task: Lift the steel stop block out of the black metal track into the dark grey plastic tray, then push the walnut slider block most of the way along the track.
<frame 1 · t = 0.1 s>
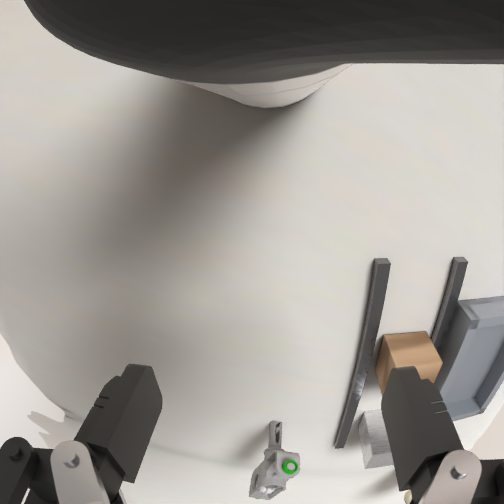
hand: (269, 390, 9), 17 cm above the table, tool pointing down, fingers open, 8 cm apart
tray: (469, 357, 30), on the table
slider: (406, 368, 28), point 3 cm above the table, slide at 0.0 cm
mechanical component: (275, 422, 37), on the table
stop block: (375, 418, 35), on the table
slide rails: (391, 374, 31), on the table
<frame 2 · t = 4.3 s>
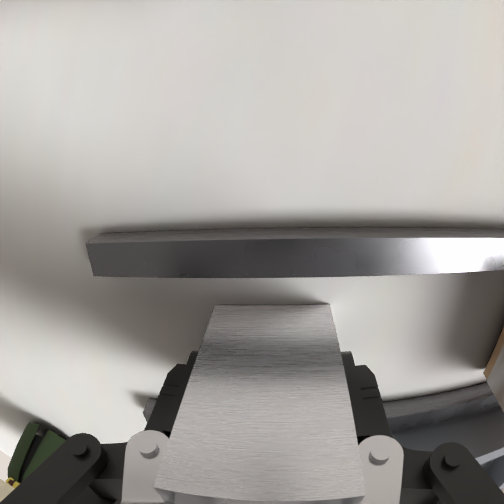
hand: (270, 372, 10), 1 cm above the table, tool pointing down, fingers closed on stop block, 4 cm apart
character mug: (61, 441, 18), on the table
tray: (423, 459, 15), on the table
stop block: (272, 349, 11), on the table, touching gripper
slide rails: (476, 334, 11), on the table
when the fingers open (4 cm above the table, at t = 10.7 s): stop block drops 1 cm, resting on tray.
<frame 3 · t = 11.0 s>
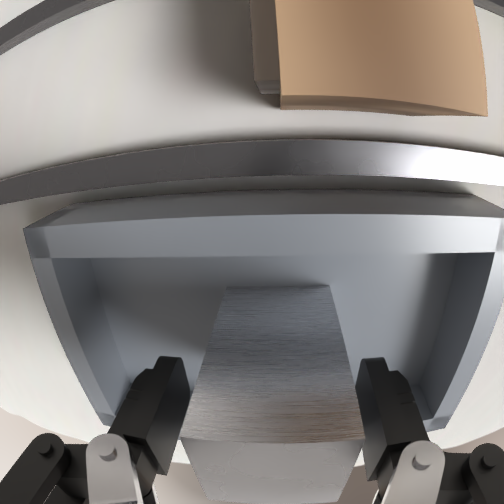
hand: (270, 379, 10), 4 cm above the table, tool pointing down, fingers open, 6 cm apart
tray: (273, 314, 14), on the table
slider: (352, 27, 7), point 3 cm above the table, slide at 0.0 cm
stop block: (278, 327, 13), point 1 cm above the table, touching tray
slide rails: (235, 49, 10), on the table
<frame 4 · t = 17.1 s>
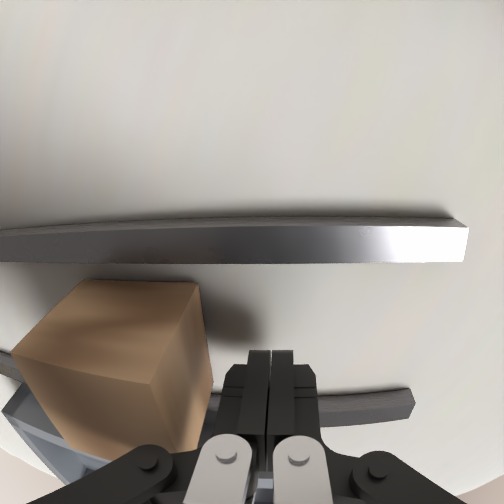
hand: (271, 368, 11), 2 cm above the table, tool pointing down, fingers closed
tray: (161, 456, 17), on the table
slider: (118, 373, 10), point 3 cm above the table, slide at 0.8 cm, touching gripper
slide rails: (89, 325, 13), on the table
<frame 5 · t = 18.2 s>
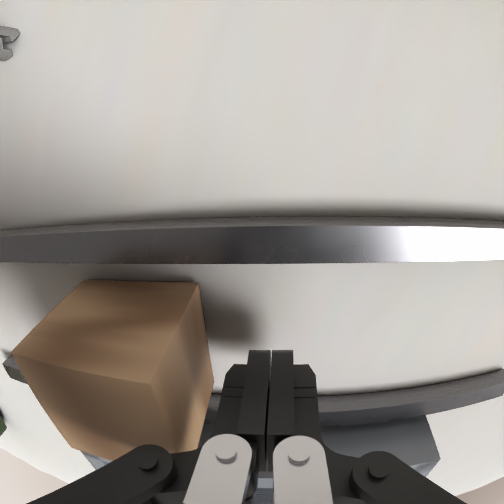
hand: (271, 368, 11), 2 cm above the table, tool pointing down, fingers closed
tray: (258, 466, 16), on the table
slider: (119, 373, 10), point 3 cm above the table, slide at 7.2 cm, touching gripper
mechanical component: (11, 45, 8), on the table
stop block: (260, 479, 15), point 1 cm above the table, touching tray
slide rails: (224, 336, 12), on the table
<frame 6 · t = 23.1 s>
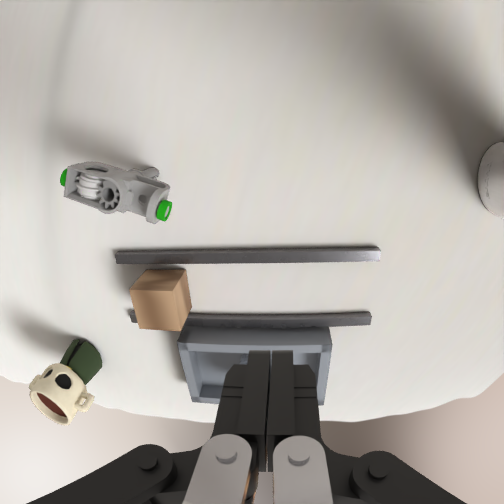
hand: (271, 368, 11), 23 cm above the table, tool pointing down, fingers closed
character mug: (88, 352, 43), on the table
tray: (257, 360, 40), on the table
slider: (159, 299, 34), point 3 cm above the table, slide at 13.0 cm
mechanical component: (153, 174, 32), on the table
slide rails: (244, 288, 36), on the table
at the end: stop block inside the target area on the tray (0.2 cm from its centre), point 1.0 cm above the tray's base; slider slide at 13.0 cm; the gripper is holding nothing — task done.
